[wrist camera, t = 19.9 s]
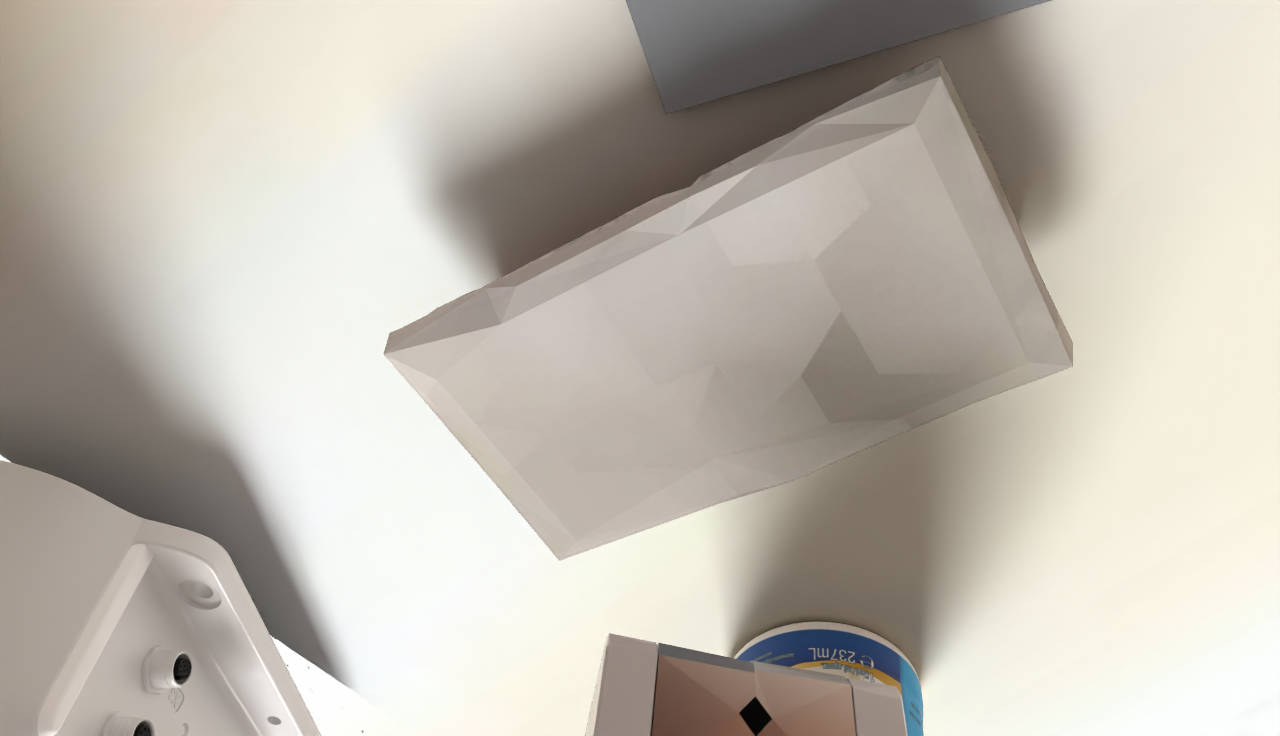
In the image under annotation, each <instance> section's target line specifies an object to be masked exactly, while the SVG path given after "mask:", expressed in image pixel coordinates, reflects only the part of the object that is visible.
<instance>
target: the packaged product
mask: <svg viewBox="0 0 1280 736" xmlns="http://www.w3.org/2000/svg"><path fill="white" fill-rule="evenodd" d="M384 355H385V356H386V358H387V359H388V360H389V361H390V362H391V363H392V364H393V366H394V367H395V368H396V369H397V370H398V371H399V372H400V374H401V375H402V376H403V377H404V378H405V379H406V380H407V382H408V383H409V384H410V385H411V386H412V387H413V389H414V390H415V391H416V392H417V393H418V394H419V395H420V397H421V398H422V399H423V400H424V401H425V402H426V403H427V405H428V406H429V407H430V408H431V409H432V411H433V412H434V413H435V414H436V415H437V416H438V418H439V419H440V420H441V421H442V422H443V423H444V425H445V426H446V427H447V428H448V429H449V430H450V432H451V433H452V434H453V435H454V436H455V437H456V439H457V440H458V441H459V442H460V443H461V444H462V446H463V447H464V448H465V449H466V450H467V451H468V453H469V454H470V455H471V456H472V457H473V458H474V460H475V461H476V462H477V463H478V464H479V465H480V467H481V468H482V469H483V470H484V471H485V472H486V474H487V475H488V476H489V477H490V478H491V479H492V481H493V482H494V483H495V484H496V485H497V486H498V488H499V489H500V490H501V491H502V492H503V494H504V495H505V496H506V497H507V498H508V500H509V501H510V502H511V503H512V504H513V506H514V507H515V508H516V509H517V510H518V512H519V513H520V514H521V515H522V516H523V518H524V519H525V520H526V521H527V522H528V524H529V525H530V526H531V527H532V528H533V530H534V531H535V532H536V533H537V534H538V536H539V537H540V538H541V539H542V540H543V542H544V543H545V544H546V545H547V546H548V548H549V549H550V550H551V551H552V552H553V554H554V555H555V556H556V557H557V558H558V560H559V561H560V560H563V559H565V558H568V557H571V556H574V555H576V554H579V553H582V552H585V551H588V550H590V549H593V548H596V547H599V546H602V545H604V544H607V543H610V542H613V541H616V540H618V539H621V538H624V537H627V536H630V535H632V534H635V533H638V532H641V531H643V530H646V529H649V528H652V527H655V526H657V525H660V524H663V523H666V522H669V521H671V520H674V519H677V518H680V517H683V516H685V515H688V514H691V513H694V512H697V511H699V510H702V509H705V508H708V507H710V506H713V505H716V504H719V503H722V502H725V501H728V500H732V499H735V498H738V497H742V496H745V495H748V494H752V493H755V492H758V491H761V490H765V489H768V488H771V487H775V486H778V485H781V484H784V483H788V482H791V481H794V480H796V479H798V478H801V477H803V476H805V475H807V474H810V473H812V472H814V471H816V470H819V469H821V468H823V467H826V466H828V465H830V464H832V463H835V462H837V461H839V460H841V459H844V458H846V457H848V456H851V455H853V454H855V453H857V452H860V451H862V450H864V449H866V448H869V447H871V446H873V445H876V444H878V443H880V442H883V441H885V440H887V439H890V438H892V437H895V436H897V435H899V434H902V433H904V432H906V431H909V430H911V429H913V428H916V427H918V426H920V425H923V424H925V423H928V422H930V421H932V420H935V419H937V418H939V417H942V416H944V415H946V414H949V413H951V412H953V411H956V410H958V409H961V408H963V407H965V406H968V405H970V404H972V403H975V402H977V401H980V400H983V399H985V398H988V397H991V396H994V395H996V394H999V393H1002V392H1005V391H1007V390H1010V389H1013V388H1016V387H1018V386H1021V385H1024V384H1026V383H1029V382H1032V381H1035V380H1037V379H1040V378H1043V377H1046V376H1048V375H1051V374H1054V373H1057V372H1059V371H1062V370H1065V369H1068V368H1070V367H1073V343H1072V340H1071V338H1070V336H1069V334H1068V332H1067V330H1066V328H1065V326H1064V324H1063V322H1062V320H1061V317H1060V315H1059V313H1058V311H1057V309H1056V307H1055V305H1054V303H1053V301H1052V299H1051V297H1050V295H1049V292H1048V290H1047V288H1046V286H1045V284H1044V282H1043V280H1042V278H1041V276H1040V274H1039V272H1038V270H1037V267H1036V265H1035V262H1034V260H1033V258H1032V255H1031V253H1030V251H1029V248H1028V246H1027V244H1026V241H1025V239H1024V237H1023V234H1022V232H1021V230H1020V227H1019V225H1018V223H1017V220H1016V218H1015V215H1014V213H1013V211H1012V208H1011V206H1010V204H1009V201H1008V199H1007V197H1006V194H1005V192H1004V190H1003V187H1002V185H1001V183H1000V180H999V178H998V176H997V173H996V171H995V169H994V167H993V165H992V163H991V161H990V159H989V157H988V155H987V153H986V150H985V148H984V146H983V144H982V142H981V140H980V138H979V136H978V134H977V132H976V130H975V128H974V126H973V124H972V122H971V120H970V117H969V115H968V113H967V111H966V109H965V107H964V105H963V103H962V101H961V99H960V97H959V95H958V93H957V91H956V89H955V86H954V84H953V82H952V80H951V78H950V76H949V74H948V72H947V70H946V68H945V66H944V64H943V62H942V60H941V58H940V57H936V58H934V59H932V60H930V61H928V62H925V63H923V64H921V65H919V66H917V67H915V68H912V69H910V70H908V71H906V72H904V73H902V74H900V75H898V76H896V77H894V78H892V79H890V80H888V81H887V82H885V83H883V84H881V85H879V86H878V87H876V88H874V89H872V90H870V91H868V92H866V93H864V94H861V95H859V96H857V97H855V98H853V99H851V100H849V101H847V102H845V103H844V104H842V105H840V106H838V107H836V108H834V109H832V110H830V111H828V112H826V113H824V114H822V115H821V116H819V117H817V118H815V119H813V120H811V121H809V122H807V123H805V124H803V125H802V126H800V127H798V128H797V129H795V130H793V131H792V132H790V133H788V134H786V135H783V136H780V137H778V138H775V139H773V140H771V141H769V142H767V143H765V144H763V145H761V146H759V147H757V148H755V149H753V150H751V151H749V152H747V153H745V154H743V155H741V156H739V157H737V158H735V159H733V160H731V161H729V162H727V163H725V164H723V165H722V166H720V167H718V168H716V169H714V170H712V171H710V172H708V173H706V174H703V175H701V176H699V178H698V179H697V180H696V181H695V182H694V183H693V184H692V186H691V187H687V188H684V189H681V190H678V191H675V192H671V193H668V194H665V195H662V196H659V197H656V198H654V199H652V200H650V201H648V202H646V203H644V204H642V205H640V206H638V207H636V208H634V209H632V210H630V211H628V212H626V213H624V214H623V215H621V216H619V217H617V218H616V219H614V220H612V221H611V222H608V223H606V224H604V225H602V226H600V227H598V228H596V229H594V230H592V231H590V232H588V233H586V234H584V235H582V236H580V237H578V238H576V239H574V240H572V241H570V242H568V243H566V244H565V245H563V246H561V247H559V248H557V249H555V250H553V251H551V252H549V253H547V254H545V255H543V256H542V257H540V258H538V259H536V260H534V261H532V262H530V263H528V264H526V265H524V266H522V267H520V268H519V269H517V270H515V271H513V272H511V273H509V274H507V275H505V276H503V277H501V278H499V279H497V280H496V281H494V282H492V283H490V284H488V285H486V286H484V287H482V288H481V289H478V290H475V291H472V292H470V293H468V294H465V295H463V296H461V297H459V298H457V299H455V300H453V301H451V302H449V303H447V304H445V305H443V306H441V307H438V308H437V309H435V310H434V311H432V312H431V313H430V314H428V315H426V316H425V317H423V318H421V319H419V320H417V321H415V322H413V323H411V324H409V325H407V326H405V327H403V328H401V329H398V330H396V331H393V332H391V333H390V334H389V337H388V341H387V344H386V348H385V351H384Z"/></svg>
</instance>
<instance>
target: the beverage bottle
mask: <svg viewBox="0 0 1280 736" xmlns="http://www.w3.org/2000/svg"><path fill="white" fill-rule="evenodd" d="M734 659H738V660H743V661H748V662H750V661H757V662H763V663H769V664H775V665H781V666H787V667H793V668H798V669H804V670H810V671H816V672H822V673H828V674H834V675H840V676H844V677H845V678H852V679H857V680H863V681H868V682H874V683H879V684H885V685H890V686H896V687H897V689H898V690H899V692H900V694H901V696H902V701H903V708H904V714H905V721H906V728H907V735H908V736H923V701H922V693H921V686H920V681H919V678H918V675H917V673H916V671H915V669H914V667H913V665H912V664H911V662H910V661H909V660H908V658H907V657H906V656H905V655H904V654H903V653H902V652H901V651H900V650H899V649H898V648H897V647H895V646H894V645H893V644H891V643H890V642H889V641H887V640H885V639H884V638H882V637H880V636H878V635H876V634H874V633H872V632H869V631H867V630H864V629H861V628H858V627H855V626H851V625H846V624H841V623H833V622H802V623H795V624H789V625H785V626H781V627H778V628H775V629H772V630H770V631H767V632H765V633H763V634H761V635H759V636H757V637H756V638H754V639H753V640H751V641H750V642H748V643H747V644H746V645H745V646H744V647H743V648H742V649H741V650H740V651H739V652H738V653H737V654H736V655H735V657H734Z"/></svg>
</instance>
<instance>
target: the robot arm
mask: <svg viewBox="0 0 1280 736" xmlns="http://www.w3.org/2000/svg"><path fill="white" fill-rule="evenodd" d="M0 736H321V734H320V732H319V730H318V728H317V726H316V724H315V722H314V720H313V718H312V716H311V714H310V712H309V710H308V709H307V707H306V705H305V703H304V701H303V699H302V697H301V695H300V693H299V691H298V689H297V687H296V685H295V683H294V681H293V679H292V677H291V675H290V673H289V671H288V669H287V667H286V665H285V663H284V661H283V660H282V658H281V656H280V654H279V652H278V650H277V648H276V646H275V644H274V642H273V640H272V638H271V636H270V634H269V632H268V630H267V628H266V626H265V624H264V622H263V620H262V618H261V616H260V614H259V612H258V611H257V609H256V607H255V605H254V603H253V601H252V599H251V597H250V595H249V593H248V591H247V589H246V587H245V585H244V583H243V581H242V579H241V577H240V575H239V573H238V571H237V569H236V567H235V565H234V563H233V562H232V560H231V558H230V556H229V554H228V553H227V551H226V550H225V549H224V548H223V547H222V546H221V545H220V544H219V543H217V542H216V541H214V540H212V539H211V538H209V537H206V536H204V535H202V534H199V533H196V532H193V531H190V530H187V529H183V528H180V527H176V526H172V525H168V524H164V523H160V522H156V521H152V520H147V519H143V518H141V517H139V516H136V515H134V514H132V513H130V512H127V511H125V510H123V509H121V508H119V507H117V506H116V505H114V504H112V503H110V502H108V501H106V500H104V499H103V498H101V497H99V496H97V495H95V494H93V493H91V492H89V491H87V490H85V489H83V488H81V487H79V486H77V485H75V484H73V483H70V482H68V481H66V480H63V479H61V478H58V477H56V476H53V475H50V474H48V473H45V472H42V471H39V470H36V469H33V468H29V467H26V466H22V465H18V464H14V463H10V462H5V461H0ZM585 736H908V735H907V728H906V721H905V714H904V708H903V701H902V696H901V694H900V692H899V690H898V689H897V687H896V686H890V685H885V684H879V683H874V682H868V681H863V680H857V679H852V678H845V677H844V676H840V675H834V674H828V673H822V672H816V671H810V670H804V669H798V668H793V667H787V666H781V665H775V664H769V663H763V662H757V661H750V662H748V661H743V660H738V659H734V658H729V657H724V656H719V655H714V654H710V653H705V652H700V651H695V650H691V649H686V648H681V647H676V646H672V645H667V644H662V643H658V644H656V643H655V642H650V641H645V640H640V639H635V638H630V637H625V636H620V635H615V634H610V633H609V635H608V636H607V639H606V643H605V647H604V651H603V656H602V660H601V664H600V669H599V673H598V677H597V682H596V686H595V690H594V695H593V699H592V704H591V709H590V713H589V718H588V723H587V728H586V733H585Z"/></svg>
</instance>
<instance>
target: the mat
mask: <svg viewBox="0 0 1280 736" xmlns="http://www.w3.org/2000/svg"><path fill="white" fill-rule="evenodd" d="M1047 1H1051V0H626V2H627V5H628V8H629V11H630V13H631V16H632V19H633V22H634V25H635V28H636V30H637V33H638V36H639V39H640V42H641V45H642V47H643V50H644V53H645V56H646V59H647V61H648V64H649V67H650V70H651V73H652V76H653V78H654V81H655V84H656V87H657V90H658V92H659V95H660V98H661V101H662V104H663V107H664V109H665V112H666V114H669V113H672V112H675V111H679V110H682V109H686V108H689V107H692V106H696V105H699V104H702V103H706V102H709V101H713V100H716V99H719V98H723V97H726V96H730V95H733V94H736V93H740V92H743V91H746V90H750V89H753V88H757V87H760V86H763V85H767V84H770V83H773V82H777V81H780V80H784V79H787V78H790V77H794V76H797V75H801V74H804V73H807V72H811V71H814V70H817V69H821V68H824V67H828V66H831V65H834V64H838V63H841V62H844V61H848V60H851V59H855V58H858V57H861V56H865V55H868V54H871V53H875V52H878V51H882V50H885V49H888V48H892V47H895V46H899V45H902V44H905V43H909V42H912V41H915V40H919V39H922V38H926V37H929V36H932V35H936V34H939V33H942V32H946V31H949V30H953V29H956V28H959V27H963V26H966V25H969V24H973V23H976V22H980V21H983V20H986V19H990V18H993V17H997V16H1000V15H1003V14H1007V13H1010V12H1013V11H1017V10H1020V9H1024V8H1027V7H1030V6H1034V5H1037V4H1040V3H1044V2H1047Z"/></svg>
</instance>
